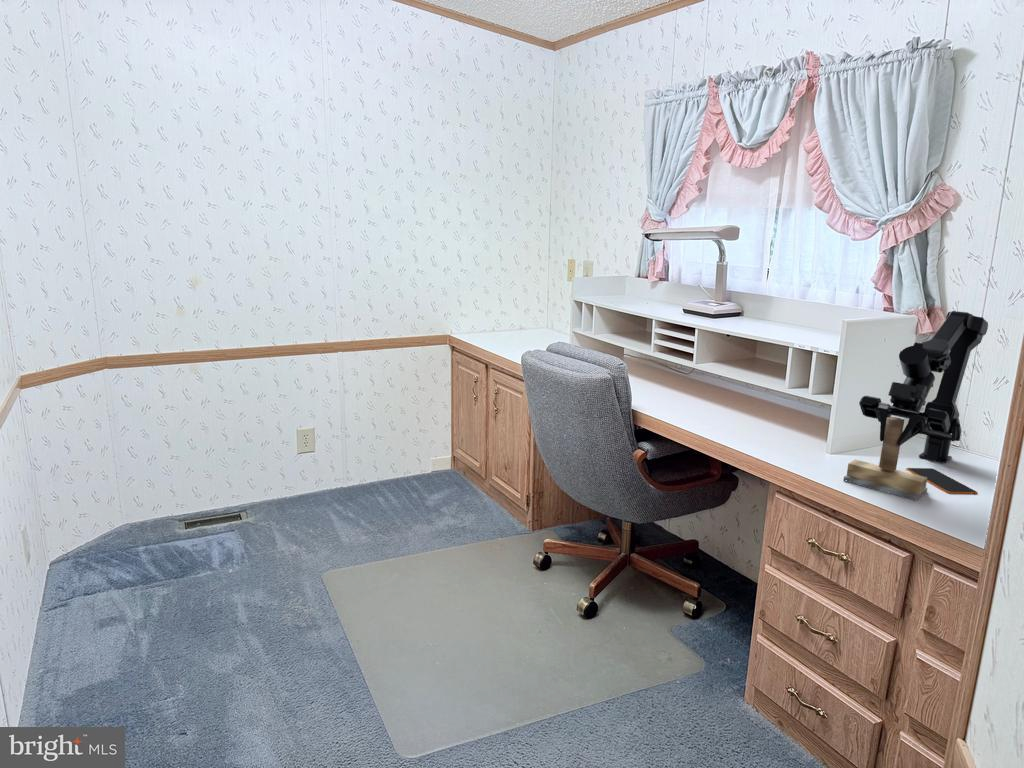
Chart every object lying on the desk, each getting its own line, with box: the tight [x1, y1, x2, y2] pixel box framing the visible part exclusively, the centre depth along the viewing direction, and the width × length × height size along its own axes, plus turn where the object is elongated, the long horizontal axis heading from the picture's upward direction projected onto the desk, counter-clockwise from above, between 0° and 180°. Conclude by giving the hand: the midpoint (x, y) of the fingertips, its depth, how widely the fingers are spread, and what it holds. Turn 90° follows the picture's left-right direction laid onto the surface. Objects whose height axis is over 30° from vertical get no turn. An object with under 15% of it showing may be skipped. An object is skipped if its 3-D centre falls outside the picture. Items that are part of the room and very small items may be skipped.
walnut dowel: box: [878, 416, 905, 470], centre depth 160 cm, size 4×4×12 cm
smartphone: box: [905, 467, 979, 495], centre depth 167 cm, size 8×17×1 cm, turn 3°
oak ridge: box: [842, 459, 928, 501], centre depth 162 cm, size 16×8×4 cm, turn 44°
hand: (889, 442), depth 159 cm, fingers closed on walnut dowel, 3 cm apart
